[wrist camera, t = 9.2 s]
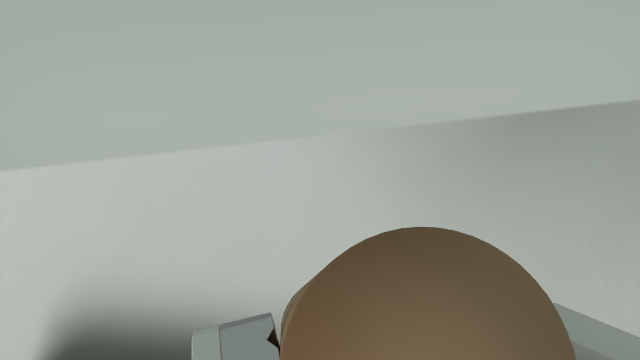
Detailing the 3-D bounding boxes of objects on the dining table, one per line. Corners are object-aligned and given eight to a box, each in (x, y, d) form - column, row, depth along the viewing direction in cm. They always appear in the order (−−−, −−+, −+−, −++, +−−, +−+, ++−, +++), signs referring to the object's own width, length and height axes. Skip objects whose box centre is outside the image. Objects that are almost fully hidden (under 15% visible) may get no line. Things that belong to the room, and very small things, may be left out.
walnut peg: (385, 282, 15) (572, 241, 5) (379, 389, 14) (590, 571, 4) (286, 273, 15) (296, 213, 5) (275, 380, 14) (259, 547, 4)
